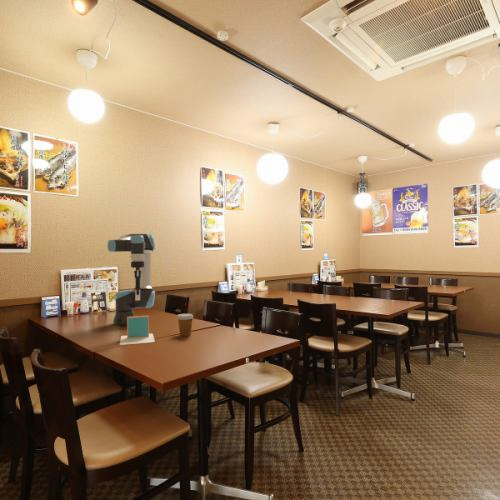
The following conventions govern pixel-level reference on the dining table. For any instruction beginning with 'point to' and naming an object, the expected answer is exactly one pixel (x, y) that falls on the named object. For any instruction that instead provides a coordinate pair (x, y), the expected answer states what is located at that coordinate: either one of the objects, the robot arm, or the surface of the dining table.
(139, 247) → the robot arm
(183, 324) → the disposable coffee cup
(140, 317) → the tile
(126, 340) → the mat
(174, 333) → the dining table surface
